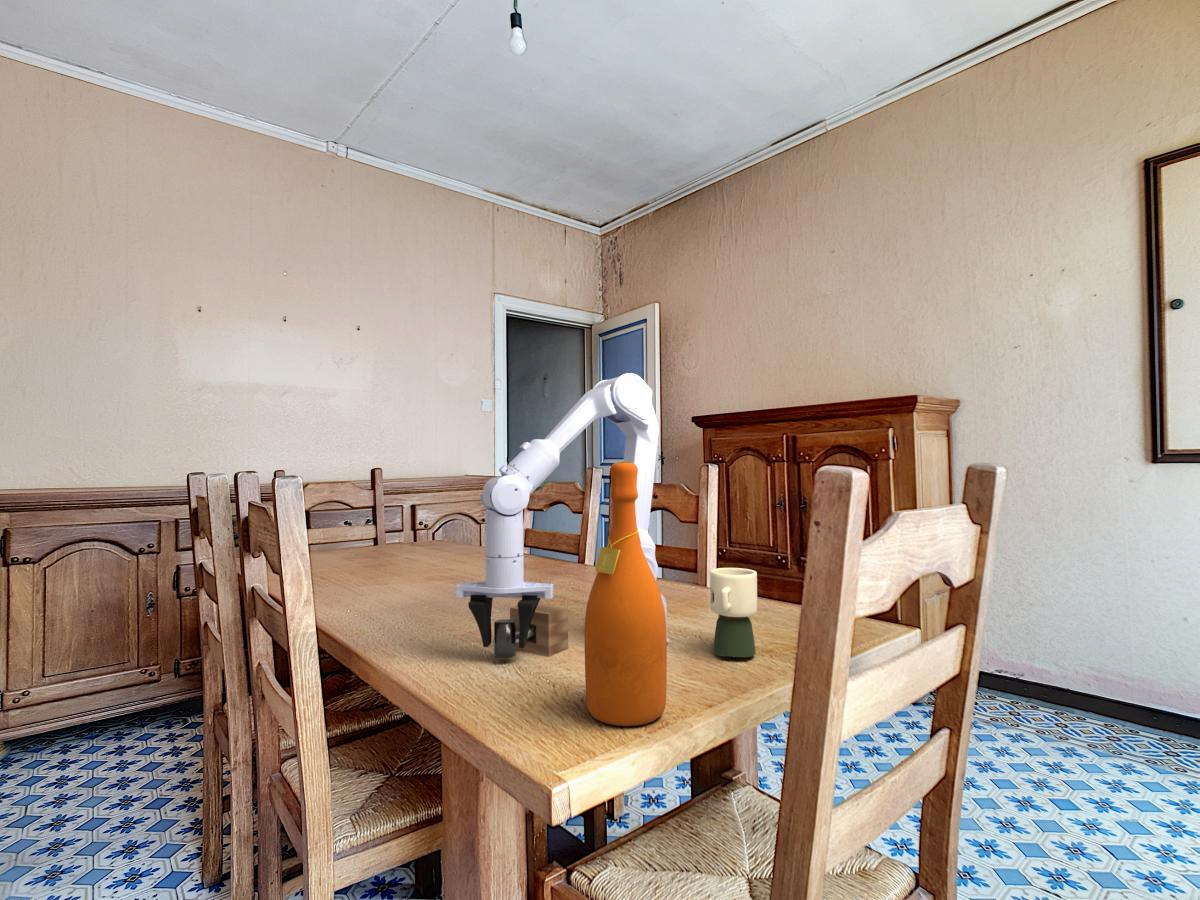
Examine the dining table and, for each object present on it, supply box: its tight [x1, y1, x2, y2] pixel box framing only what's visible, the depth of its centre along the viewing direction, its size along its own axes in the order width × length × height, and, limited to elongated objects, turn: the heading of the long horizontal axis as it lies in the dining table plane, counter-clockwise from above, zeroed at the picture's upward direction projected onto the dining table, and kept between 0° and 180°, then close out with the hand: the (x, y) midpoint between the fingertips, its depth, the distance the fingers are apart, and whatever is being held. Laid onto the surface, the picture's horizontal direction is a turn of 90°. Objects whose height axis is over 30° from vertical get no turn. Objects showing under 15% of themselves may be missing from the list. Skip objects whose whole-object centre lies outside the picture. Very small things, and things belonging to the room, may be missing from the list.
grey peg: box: [493, 618, 536, 660], centre depth 96 cm, size 13×3×5 cm, turn 146°
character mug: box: [709, 567, 758, 660], centre depth 93 cm, size 11×7×13 cm, turn 152°
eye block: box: [509, 602, 569, 657], centre depth 98 cm, size 5×8×6 cm, turn 56°
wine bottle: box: [583, 461, 668, 727], centre depth 73 cm, size 10×10×30 cm
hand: (505, 645), depth 91 cm, fingers open, 5 cm apart
